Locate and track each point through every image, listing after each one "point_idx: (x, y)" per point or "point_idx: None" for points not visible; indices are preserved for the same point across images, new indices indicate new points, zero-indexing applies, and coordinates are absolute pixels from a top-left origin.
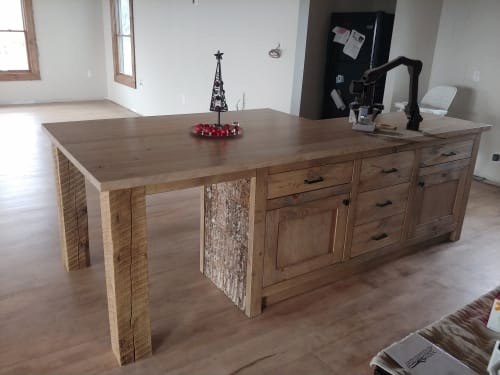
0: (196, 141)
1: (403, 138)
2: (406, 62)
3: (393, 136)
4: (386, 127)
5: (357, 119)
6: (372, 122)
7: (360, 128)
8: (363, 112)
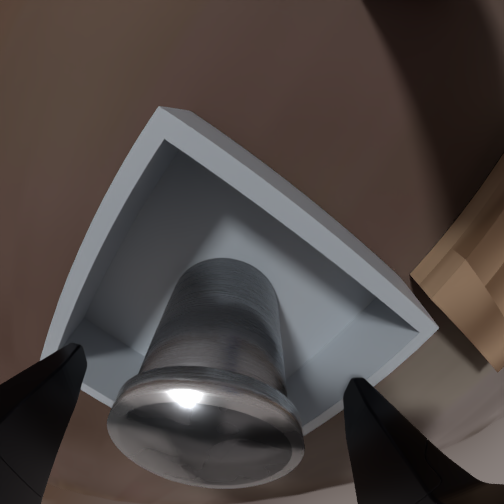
0: None
1: None
2: None
3: (349, 459)
4: (477, 346)
5: (65, 402)
6: (412, 309)
7: None
8: None
